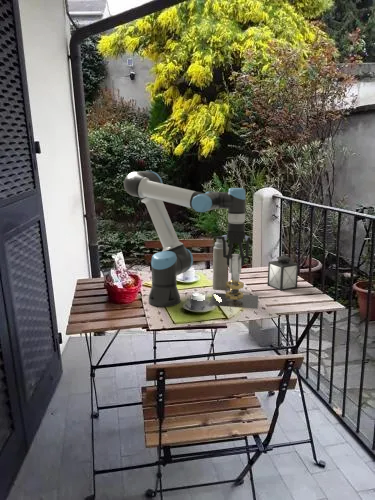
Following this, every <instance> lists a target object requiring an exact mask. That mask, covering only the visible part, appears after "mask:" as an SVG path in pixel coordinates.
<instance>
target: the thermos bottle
mask: <svg viewBox="0 0 375 500" xmlns="http://www.w3.org/2000/svg"><path fill="white" fill-rule="evenodd" d="M222 236H223V235H217V236H216V241H215V242H214V246H213V251H212V252H213V254H212V256H213V257H212V264H213V265H212V272H213V273H212V290H214V291H226V292H227V290H229V288H227V287H226V282H229V265H227V258H225V257H223V241H222V238H221V237H222ZM228 245H229V243H228V242H227V241H226V255H228V251H229V247H230V246H228Z"/></svg>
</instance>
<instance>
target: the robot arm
mask: <svg viewBox="0 0 375 500" xmlns="http://www.w3.org/2000/svg"><path fill="white" fill-rule="evenodd" d="M123 187H124V190H125V192H126V193H127V194H129V195H130V196H132V197H137V198H139V200H140V202H141V203H142V204H143V203H144V204H145V206H146V208H147V209H146V210H147V212H148V213H149V216H150V218H151V221H152V223H153V226H154V228H155V231H156V233H157V235H158V238H159V241H160V243H161V246H162V251H158V252H156V253H154V254H153V255H152V256H151V261H150V264H151V265H150V266H151V289H150V292H149V295H148V303H149V304H150V305H152V306H154V307H155V306H156V307H172V306H176V305H178V304H179V303H181V296H180V292H179V289H178V286H177V276H179V275H181V274H183V273H186V272H187V271H189V270H190V269H191V268H192V266H193V264H194V257H193V253H192V251H190V249H187V248H186V247H185V244H184V243H183V242H182V241H180V240H179V238H178V235H177V233H176V231H175V229H174V225H173V223H172V221H171V218H170V216H169V214H168V213H169V212H168V211H167V209H166V206H165V204H164V202H166V203H169V204H174V205H178V206H182V207H186V208H190V209H194V211H195V212H198V213H207V212H208V211H212V210H216V209H217V210H218V209H221V210H223V209H225V210H227V211H228V213H227V214H228V215H227V221H228V224H227V233H226V234H224V235H221V236H222V237H221V238H222V241H223V257H225V258H227V265H229V266H228V274H231V255H232V251H233V246H234V245H233V244H235V243H236V244H238V246H239V247H238V248H239V255H240V264H239V273H240V274H242V267H244V265H245V260H246V259H248V257H249V251H250V250H249V248H250V241H251V238H252V237H251V236H248V235H246V232H245V230H246V227H245V226H246V224H245V222H246V200H247V199H246V189H245V188H243V187H230V188H229V189H228V191H227V192H222V191H206V192H205V193H203V192H200V191H195V190H191V189H188V188H182V187H178V186H174V185H169V184H167V183H166V184H164V183H163V180H162V178H161V176H160V175H159V174H158V173H157V172H155V171H152V170H144V171H132V172H130V173H128V174H127V175H126V176H125V178H124V181H123ZM227 239H229V241H230V242H229V243H230V244H229V246H228V247H229V251H228V255H226V242H227ZM243 240H245V242H246V243H245V253H244V249H243ZM244 254H245V255H244Z"/></svg>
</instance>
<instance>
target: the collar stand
mask: <svg viewBox="0 0 375 500" xmlns="http://www.w3.org/2000/svg"><path fill="white" fill-rule="evenodd" d="M244 286H245V284H244V282H242V281H240V280H239V285H231V280H228V282H226V287H227V288H228V290H229V291H226V292H225V293H220V292H213V294H216V295H218V296H219V297H221V299H222V302H220V303H219V302H218V301H216V299H215V298H214V296H213V294H212V295H211V297H210V301H209V303H208V306H215V307H216V306H217V307H229V308H242V309H243V308H244V309H245V308H246V309H258V308H259V307H258V304H259V295H257V294H256V295H253V294H244V292H242V291H239V293H237V294H233V293H231V292H230V291H231V289H239V290H241V289H244V288H245V287H244Z"/></svg>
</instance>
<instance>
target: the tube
mask: <svg viewBox="0 0 375 500" xmlns="http://www.w3.org/2000/svg"><path fill="white" fill-rule="evenodd" d="M230 258H231V273H230V281H231V285H239V281H240V274H241V273H239V264H240V258H241V254H240V253H231V255H230ZM229 291H230V292H231V293H233V294H237V293H239V292H240V289H230V290H229Z"/></svg>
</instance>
